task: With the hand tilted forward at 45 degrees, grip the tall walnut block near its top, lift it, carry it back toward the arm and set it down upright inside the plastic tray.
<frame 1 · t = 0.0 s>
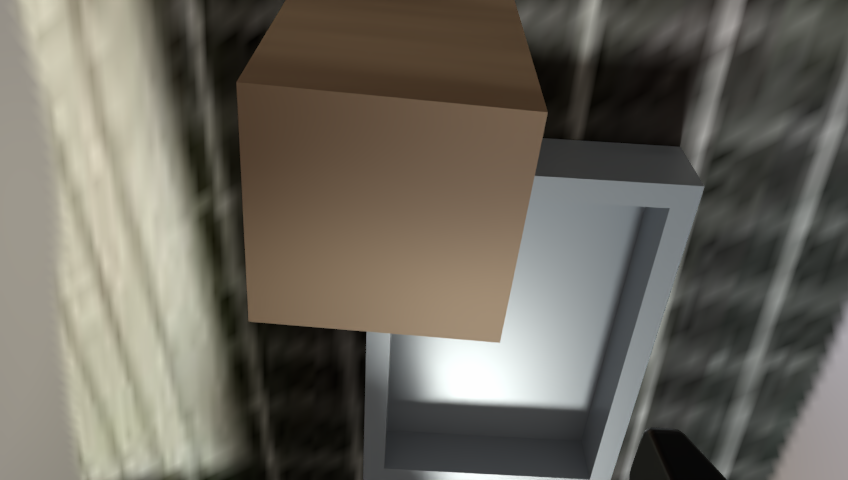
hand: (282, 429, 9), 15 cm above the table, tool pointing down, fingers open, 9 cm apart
tray: (502, 309, 27), on the table
block: (407, 17, 21), on the table
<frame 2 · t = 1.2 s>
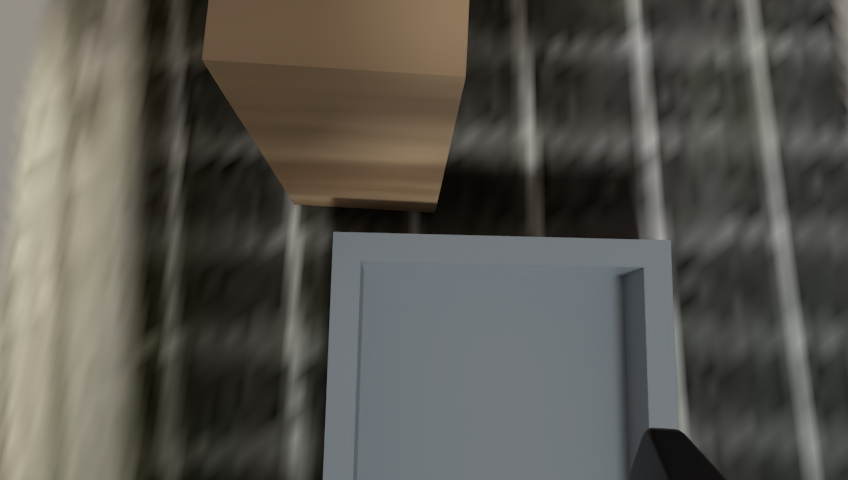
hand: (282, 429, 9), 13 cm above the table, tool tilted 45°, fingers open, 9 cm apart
block: (369, 141, 24), on the table
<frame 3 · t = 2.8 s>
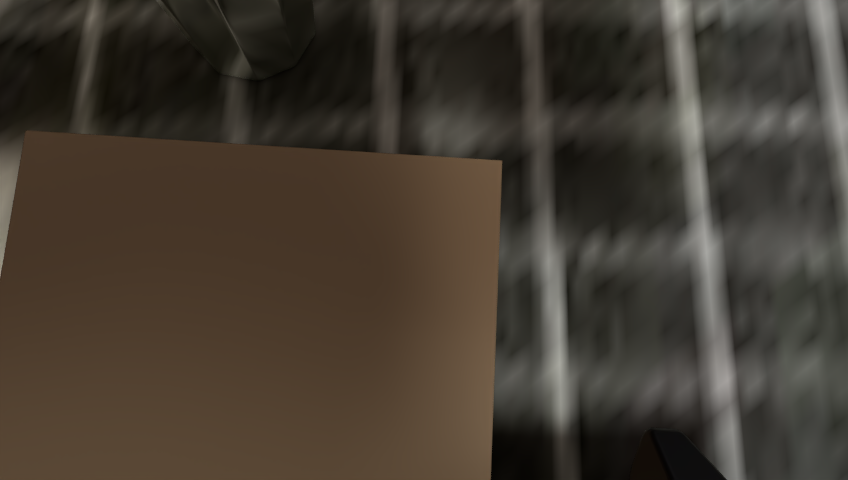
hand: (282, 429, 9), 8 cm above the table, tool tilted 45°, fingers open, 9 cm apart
block: (340, 385, 17), on the table
milkshake: (240, 33, 19), on the table
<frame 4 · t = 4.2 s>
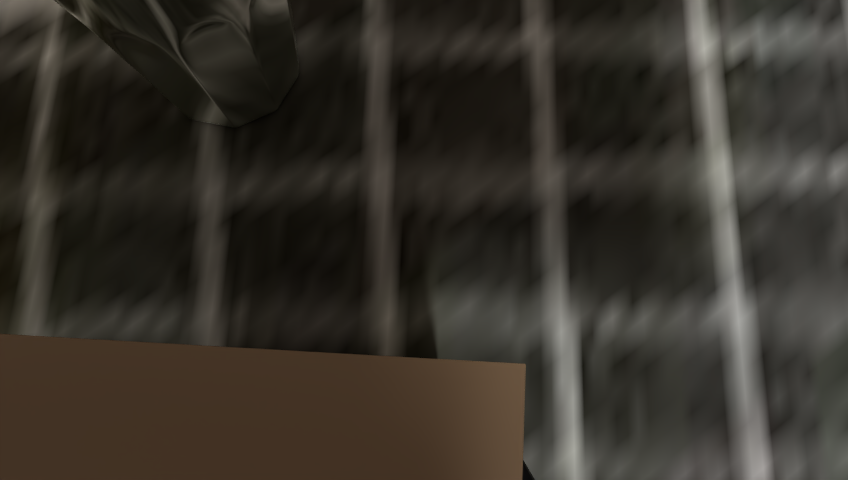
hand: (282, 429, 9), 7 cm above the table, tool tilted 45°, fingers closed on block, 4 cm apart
block: (326, 476, 15), on the table, touching gripper
milkshake: (216, 72, 17), on the table
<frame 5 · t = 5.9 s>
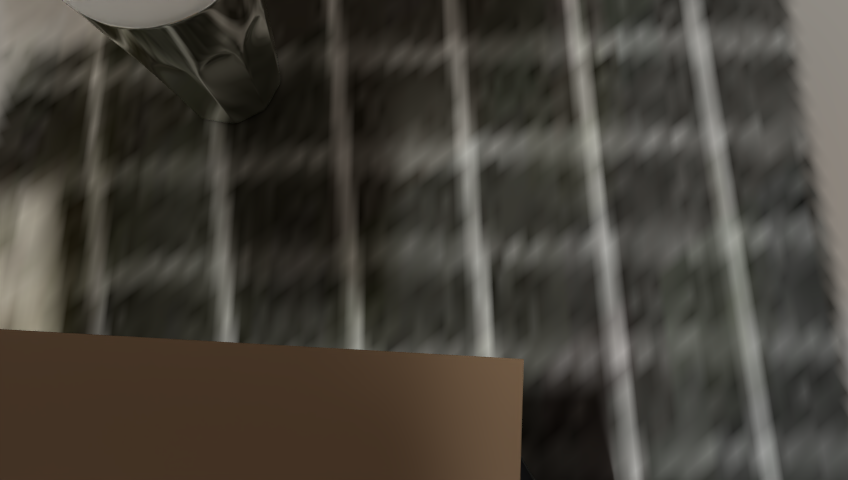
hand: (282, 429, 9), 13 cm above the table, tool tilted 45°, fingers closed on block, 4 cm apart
block: (326, 474, 15), point 6 cm above the table, touching gripper
milkshake: (219, 83, 23), on the table
when the fingers open (9 cm above the table, at t = 7.9 s): block drops 1 cm, resting on tray.
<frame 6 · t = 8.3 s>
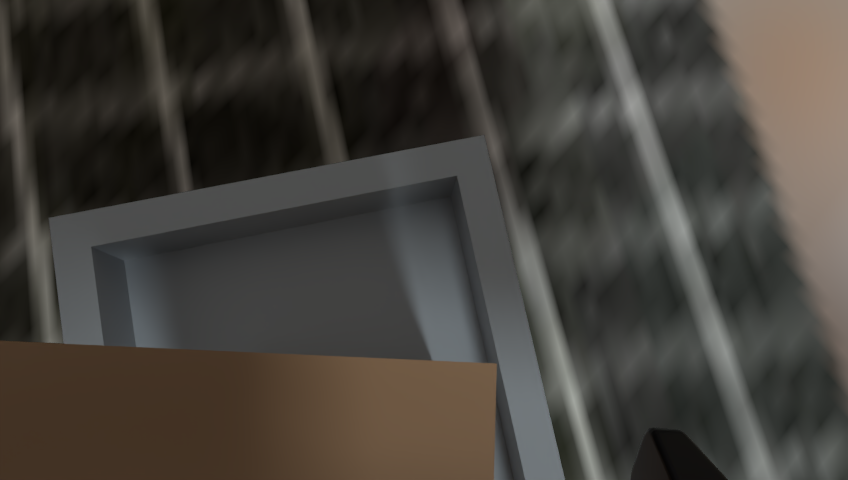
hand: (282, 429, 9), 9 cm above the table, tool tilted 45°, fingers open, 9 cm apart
block: (333, 466, 17), point 1 cm above the table, touching tray
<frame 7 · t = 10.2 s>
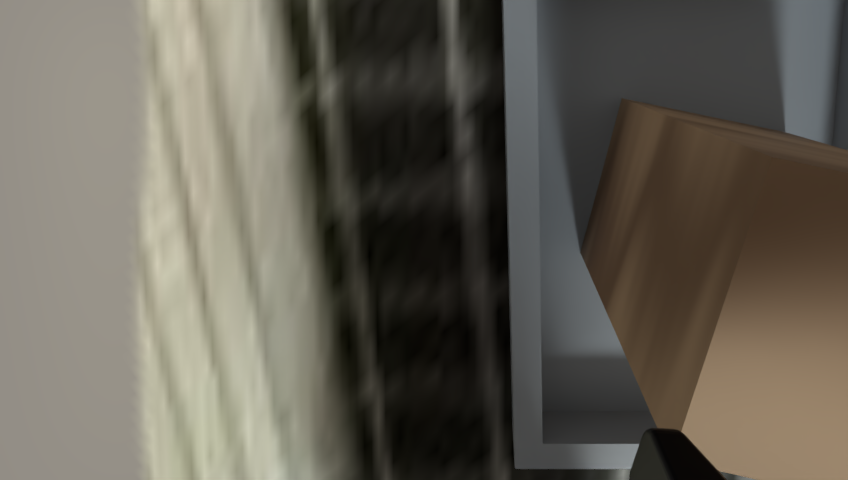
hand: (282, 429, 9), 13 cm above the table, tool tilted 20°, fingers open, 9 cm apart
tray: (673, 207, 21), on the table
block: (679, 194, 20), point 1 cm above the table, touching tray
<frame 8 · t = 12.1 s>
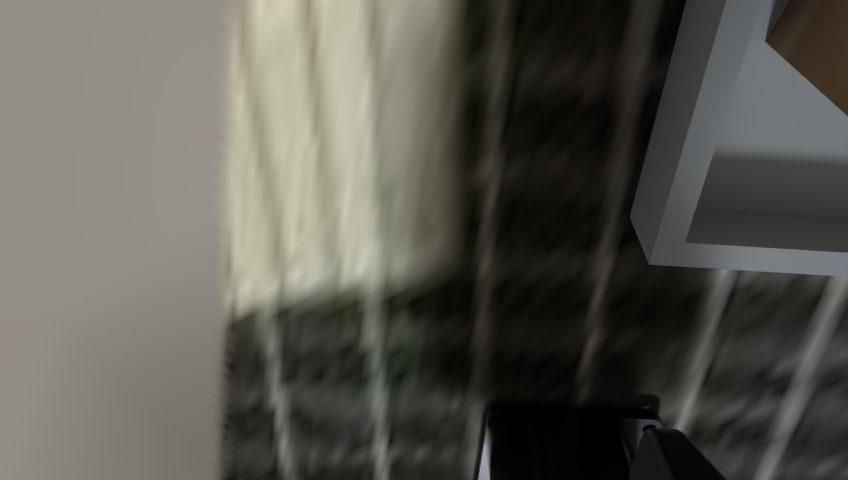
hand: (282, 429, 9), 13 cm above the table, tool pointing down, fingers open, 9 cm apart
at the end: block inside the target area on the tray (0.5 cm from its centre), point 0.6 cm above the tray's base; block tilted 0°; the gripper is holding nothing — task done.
